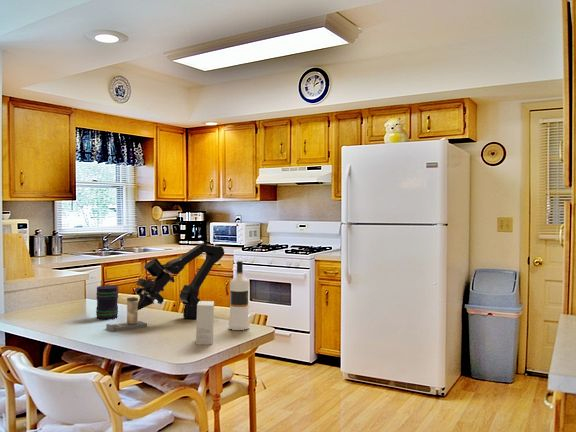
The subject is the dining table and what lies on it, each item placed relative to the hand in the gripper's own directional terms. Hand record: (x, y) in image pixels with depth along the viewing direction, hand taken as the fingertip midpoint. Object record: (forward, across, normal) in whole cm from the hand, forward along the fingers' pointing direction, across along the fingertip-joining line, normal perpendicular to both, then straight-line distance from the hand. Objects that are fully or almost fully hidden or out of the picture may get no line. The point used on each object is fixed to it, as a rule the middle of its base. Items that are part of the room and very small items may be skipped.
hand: (136, 309), depth 219 cm
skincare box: (-1, +42, +12) cm, 44 cm away
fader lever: (+5, 0, +3) cm, 6 cm away
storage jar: (+7, -26, +4) cm, 27 cm away
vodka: (-18, +32, +28) cm, 47 cm away
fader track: (+8, 0, +2) cm, 9 cm away
